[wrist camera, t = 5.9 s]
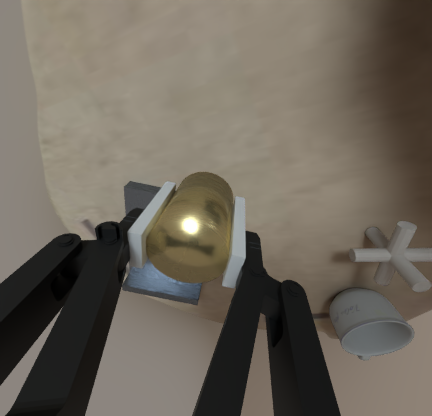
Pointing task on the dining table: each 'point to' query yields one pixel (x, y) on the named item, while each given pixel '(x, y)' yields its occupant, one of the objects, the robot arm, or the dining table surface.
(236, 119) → the dining table surface
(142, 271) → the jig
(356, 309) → the teacup
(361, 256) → the pipe connector
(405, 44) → the dining table surface
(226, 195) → the gold round-ended peg
